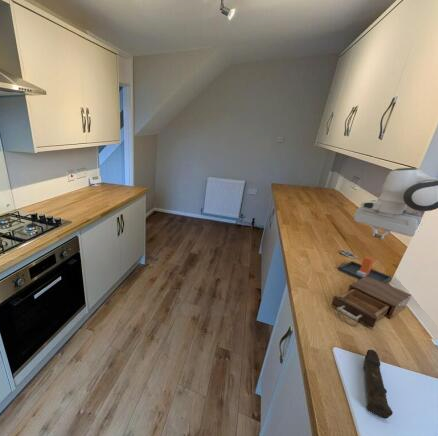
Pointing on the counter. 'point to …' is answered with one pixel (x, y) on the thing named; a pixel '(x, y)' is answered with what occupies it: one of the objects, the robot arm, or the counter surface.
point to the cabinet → (382, 294)
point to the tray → (352, 269)
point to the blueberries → (348, 254)
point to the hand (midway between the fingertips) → (378, 237)
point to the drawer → (360, 307)
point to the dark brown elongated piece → (375, 386)
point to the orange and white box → (366, 266)
